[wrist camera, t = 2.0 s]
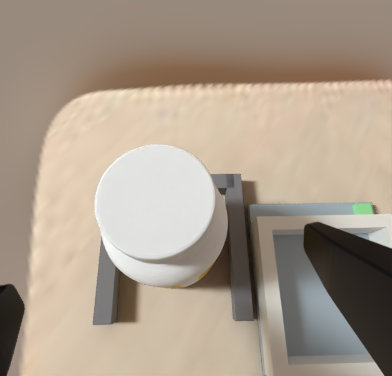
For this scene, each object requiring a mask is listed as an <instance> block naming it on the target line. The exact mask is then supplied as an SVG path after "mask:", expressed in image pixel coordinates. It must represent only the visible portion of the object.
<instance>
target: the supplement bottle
mask: <svg viewBox="0 0 392 376" xmlns="http://www.w3.org/2000/svg"><path fill="white" fill-rule="evenodd" d="M95 216H96V219H97V222H98V225H99V228H100V230H101V235H102V240H103V243H104V246H105V249H106V251H107V253H108V255H109V257H110V259H111V260H112V262H113V263H114V264H115V266H116V267H117V268H118V269H119V270H120V271H122V272H123V273H124V274H125V275H127V276H128V277H130V278H131V279H133V280H135V281H137V282H140V283H142V284H145V285H149V286H154V287H162V288H170V289H177V288H183V287H187V286H190V285H192V284H194V283H196V282H197V281H199V280H200V279H202V278H203V277H204V276H205V275H206V274H207V273H208V271H209V270H210V269H211V267H212V266H213V264H214V262H215V261H216V260H217V258H218V256H219V255H220V253H221V250H222V248H223V246H224V243H225V239H226V235H227V229H228V217H227V210H226V206H225V203H224V200H223V198H222V196H221V194H220V192H219V190H218V189H217V187H216V186H215V184H214V182H213V179H212V177H211V175H210V173H209V171H208V170H207V168H206V167H205V166H204V164H203V163H202V162H201V161H200V160H199V159H198V158H197V157H195V156H194V155H192V154H191V153H189V152H188V151H186V150H183V149H181V148H178V147H175V146H171V145H164V144H154V145H146V146H141V147H138V148H136V149H133V150H131V151H129V152H127V153H125V154H123V155H122V156H120V157H119V158H118V159H117V160H115V161H114V162H113V163H112V164H111V165H110V166H109V168H108V169H107V170H106V171H105V173H104V174H103V176H102V178H101V180H100V182H99V184H98V187H97V190H96V195H95Z"/></svg>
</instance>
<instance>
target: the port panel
mask: <svg viewBox="0 0 392 376" xmlns="http://www.w3.org/2000/svg"><path fill="white" fill-rule="evenodd" d="M247 208H248V219H249V230H250V240H251V251H252V262H253V273H254V283H255V294H256V305H257V316H258V326H259V337H260V348H261V359H262V369H263V376H384V374H383V373H382V372H381V370H380V369H379V367H378V366H377V364H376V363H375V361H374V360H373V359H372V357H371V356H370V354H369V353H368V351H367V350H366V348H365V347H364V345H363V344H362V343H361V341H360V340H359V338H358V337H357V335H356V334H355V332H354V331H353V330H352V328H351V327H350V325H349V324H348V322H347V321H346V319H345V318H344V316H343V315H342V314H341V312H340V311H339V309H338V308H337V306H336V305H335V303H334V302H333V301H332V299H331V297H330V296H329V294H328V293H327V291H326V289H325V288H324V286H323V284H322V282H321V280H320V279H319V277H318V275H317V273H316V271H315V269H314V268H313V266H312V264H311V262H310V260H309V258H308V257H307V255H306V253H305V251H304V247H303V239H304V226H305V225H306V224H307V223H312V222H321V223H324V224H326V225H329V226H332V227H335V228H337V229H340V230H343V231H346V232H348V233H351V234H354V235H357V236H359V237H362V238H365V239H368V240H370V241H373V242H376V243H379V244H381V245H384V246H387V247H389V248H392V214H375V212H374V208H373V204H372V202H359V203H305V204H250V205H248V207H247Z"/></svg>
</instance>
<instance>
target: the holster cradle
mask: <svg viewBox="0 0 392 376" xmlns="http://www.w3.org/2000/svg"><path fill="white" fill-rule="evenodd" d="M210 175H211V177H212V179H213V182H214V184H215V186H216V187H217V189H218V190H219V192H220V194H225V202H226V210H227V217H228V229H227V233H228V248H229V264H230V280H231V295H232V311H233V319H234V320H235V321H254V318H253V307H252V295H251V284H250V273H249V261H248V250H247V239H246V227H245V216H244V205H243V193H242V182H241V174H210ZM119 279H120V270H119V269H118V268H117V267H116V266H115V264H114V263H113V262H112V260H111V259H110V257H109V255H108V253H107V251H106V249H105V246H104V243H103V240H102V236H101V246H100V256H99V266H98V276H97V286H96V296H95V306H94V316H93V325H110V324H113V323H115V322H116V321H117V307H118V293H119Z"/></svg>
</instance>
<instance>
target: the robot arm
mask: <svg viewBox="0 0 392 376" xmlns="http://www.w3.org/2000/svg"><path fill="white" fill-rule="evenodd" d="M303 247H304V251H305V253H306V255H307V257H308V258H309V260H310V262H311V264H312V266H313V268H314V269H315V271H316V273H317V275H318V277H319V279H320V280H321V282H322V284H323V286H324V288H325V289H326V291H327V293H328V294H329V296H330V297H331V299H332V301H333V302H334V303H335V305H336V306H337V308H338V309H339V311H340V312H341V314H342V315H343V316H344V318H345V319H346V321H347V322H348V324H349V325H350V327H351V328H352V330H353V331H354V332H355V334H356V335H357V337H358V338H359V340H360V341H361V343H362V344H363V345H364V347H365V348H366V350H367V351H368V353H369V354H370V356H371V357H372V359H373V360H374V361H375V363H376V364H377V366H378V367H379V369H380V370H381V372H382V373H383V374H384V376H392V248H389V247H387V246H384V245H381V244H379V243H376V242H373V241H370V240H368V239H365V238H362V237H359V236H357V235H354V234H351V233H348V232H346V231H343V230H340V229H337V228H335V227H332V226H329V225H326V224H324V223H321V222H312V223H307V224H306V225H305V226H304V239H303ZM24 310H25V307H24V303H23V301H22V299H21V297H20V295H19V294H18V292H17V290H16V288H15V287H14V285H12V284H4V285H0V376H7V373H8V370H9V367H10V364H11V360H12V357H13V354H14V349H15V346H16V342H17V338H18V334H19V330H20V326H21V323H22V319H23V315H24Z"/></svg>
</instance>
